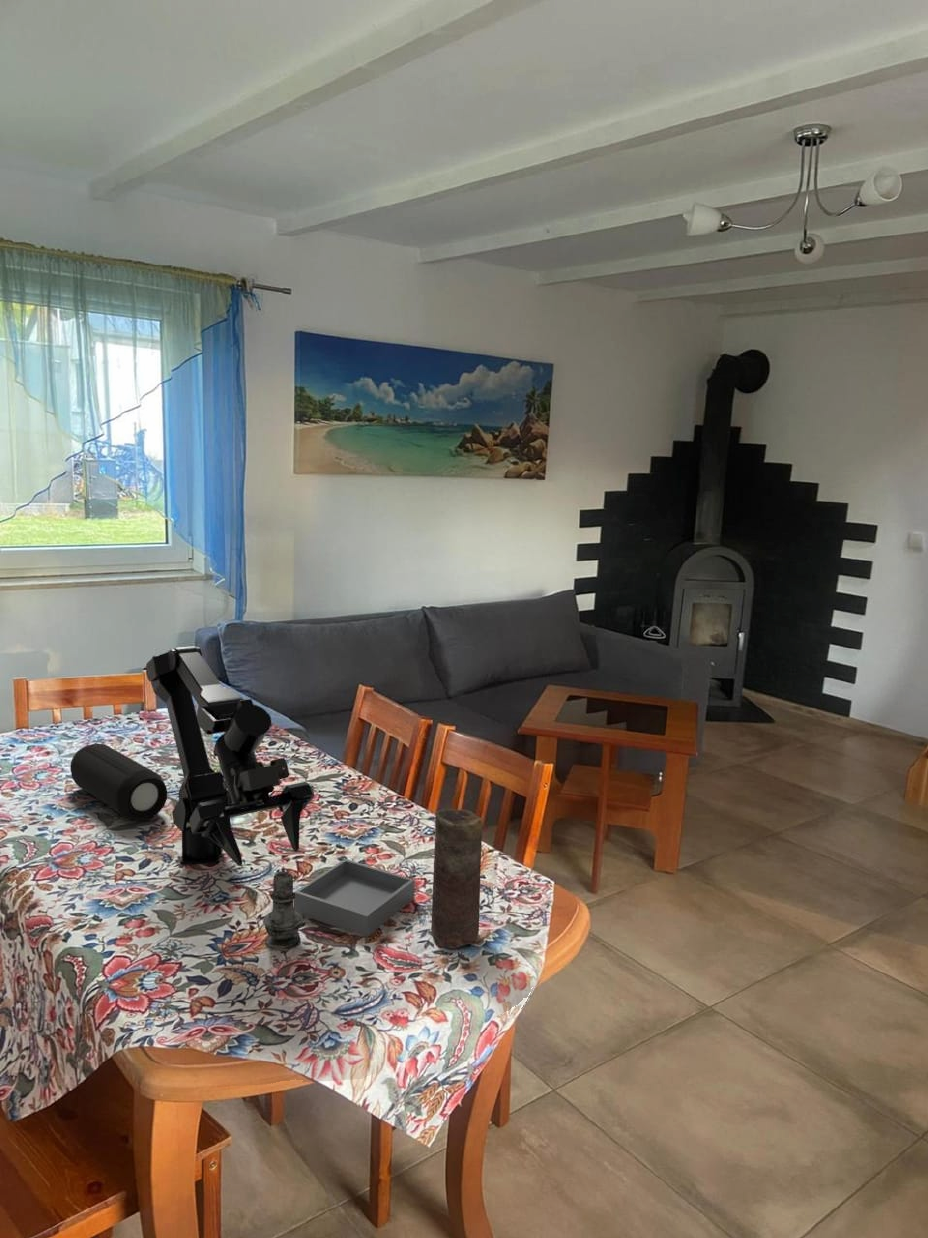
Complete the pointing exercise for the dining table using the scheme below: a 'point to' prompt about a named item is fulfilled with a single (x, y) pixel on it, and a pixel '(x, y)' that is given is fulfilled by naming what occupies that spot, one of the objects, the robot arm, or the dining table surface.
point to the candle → (456, 878)
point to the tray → (354, 897)
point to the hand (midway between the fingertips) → (269, 857)
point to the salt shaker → (282, 915)
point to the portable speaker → (119, 781)
